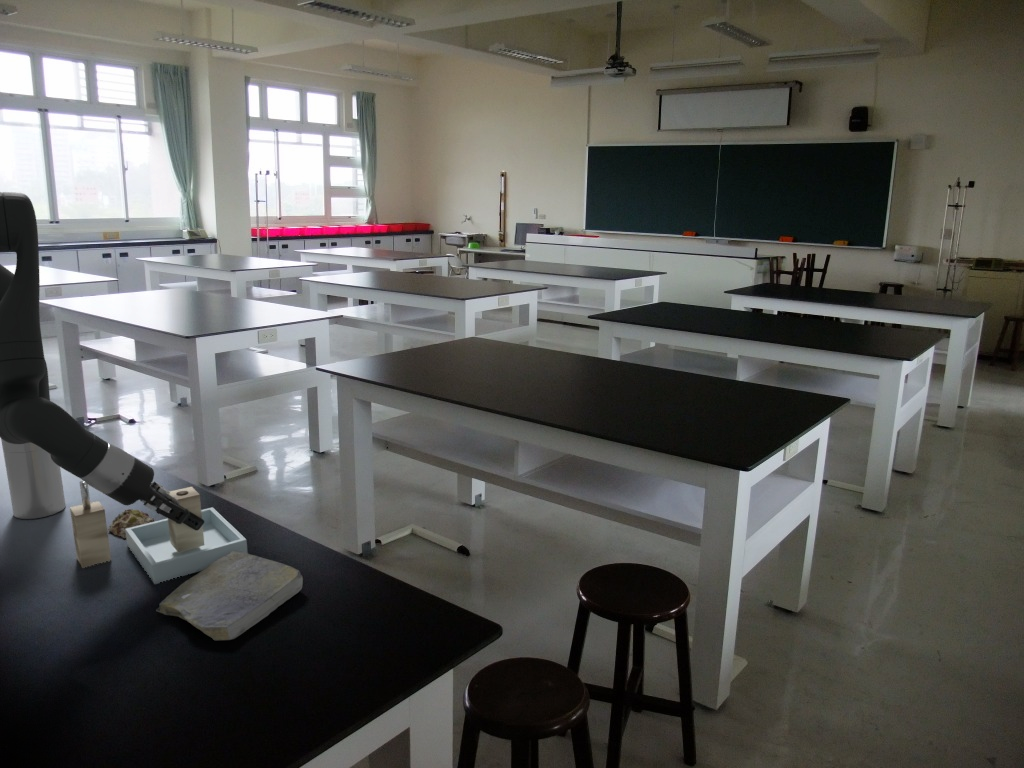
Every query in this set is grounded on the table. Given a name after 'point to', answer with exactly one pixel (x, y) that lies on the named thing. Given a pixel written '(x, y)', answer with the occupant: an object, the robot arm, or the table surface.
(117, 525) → the mineral rock
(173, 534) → the block
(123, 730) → the table surface
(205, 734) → the table surface
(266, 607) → the fossil
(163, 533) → the tray
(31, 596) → the table surface
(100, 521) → the block
